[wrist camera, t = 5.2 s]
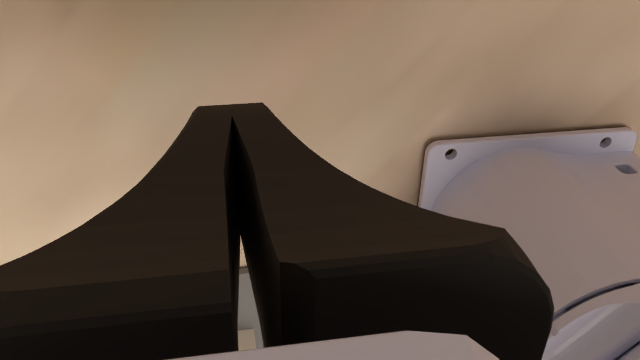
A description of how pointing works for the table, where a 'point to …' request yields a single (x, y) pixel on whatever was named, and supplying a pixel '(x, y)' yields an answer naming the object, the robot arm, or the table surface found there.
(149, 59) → the table surface
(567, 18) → the table surface
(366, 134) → the table surface
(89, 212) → the table surface
